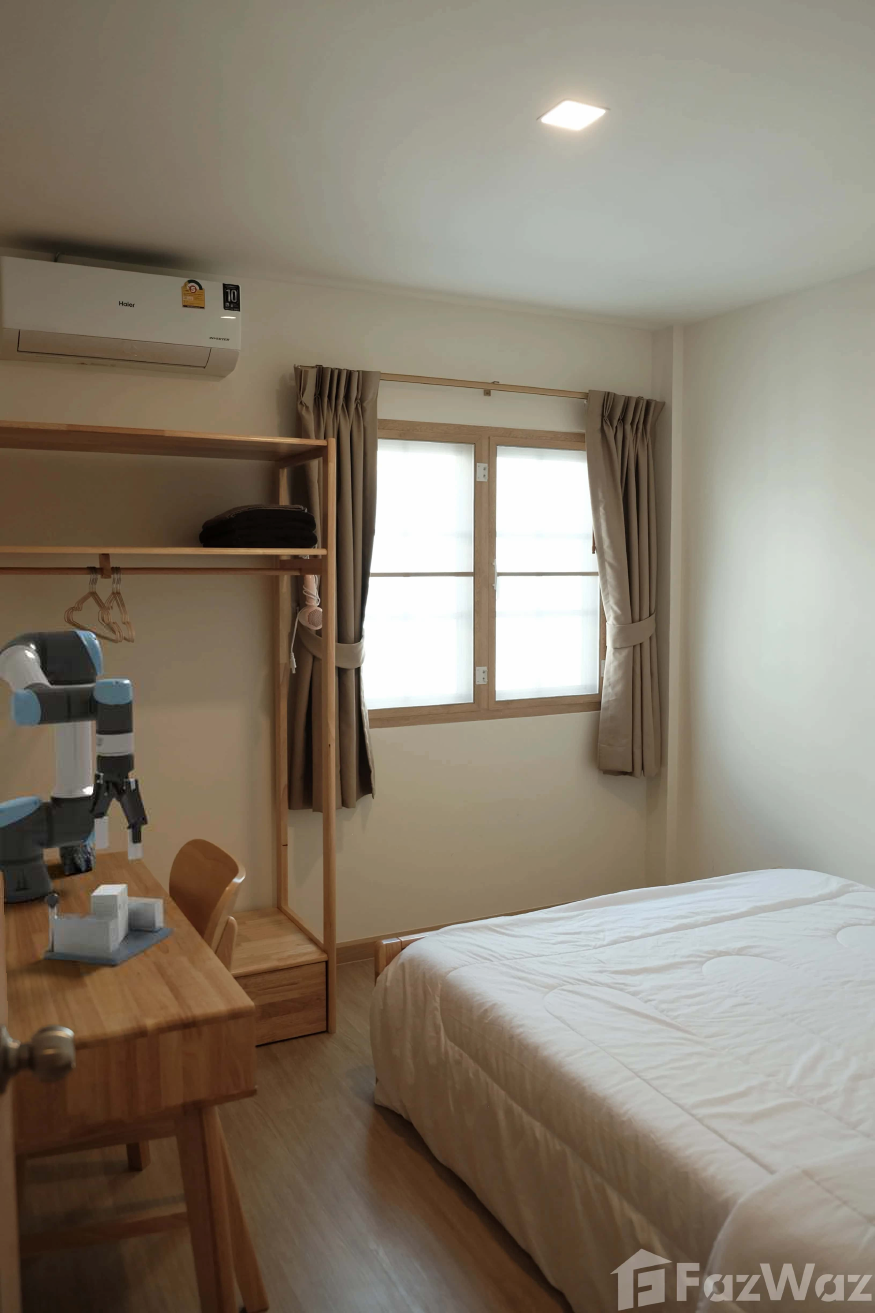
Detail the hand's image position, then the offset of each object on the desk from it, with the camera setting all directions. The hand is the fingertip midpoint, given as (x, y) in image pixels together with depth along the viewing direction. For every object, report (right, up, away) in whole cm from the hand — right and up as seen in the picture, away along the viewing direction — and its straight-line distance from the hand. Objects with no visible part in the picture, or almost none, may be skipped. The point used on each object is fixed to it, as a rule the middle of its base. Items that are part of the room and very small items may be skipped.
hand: (118, 853), depth 209 cm
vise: (-1, -19, -3) cm, 19 cm away
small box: (-1, -18, -3) cm, 18 cm away
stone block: (-31, -16, +63) cm, 72 cm away
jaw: (+2, -17, +5) cm, 17 cm away
